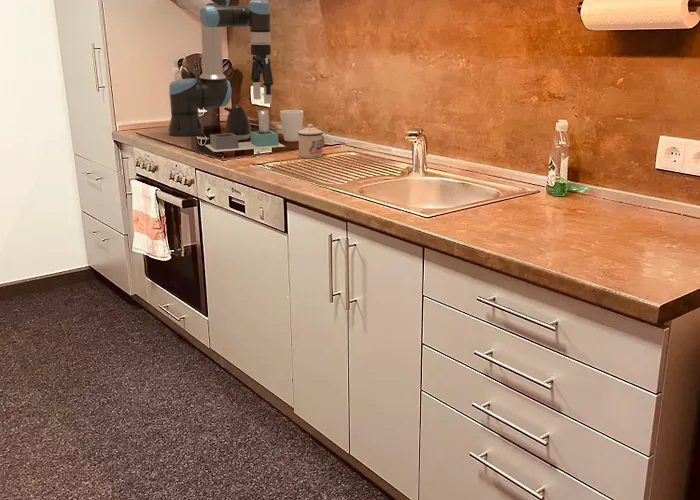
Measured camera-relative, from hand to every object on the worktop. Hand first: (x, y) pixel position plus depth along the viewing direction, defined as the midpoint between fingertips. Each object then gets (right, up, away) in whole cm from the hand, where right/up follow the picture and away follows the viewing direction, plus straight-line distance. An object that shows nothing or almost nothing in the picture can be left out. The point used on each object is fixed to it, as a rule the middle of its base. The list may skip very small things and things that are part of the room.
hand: (262, 101), depth 267 cm
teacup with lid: (+20, -22, -10) cm, 32 cm away
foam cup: (+10, -14, +15) cm, 23 cm away
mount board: (-7, -18, +2) cm, 20 cm away
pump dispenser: (-12, -13, +19) cm, 26 cm away
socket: (0, -16, +5) cm, 17 cm away
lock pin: (0, -16, +5) cm, 17 cm away
